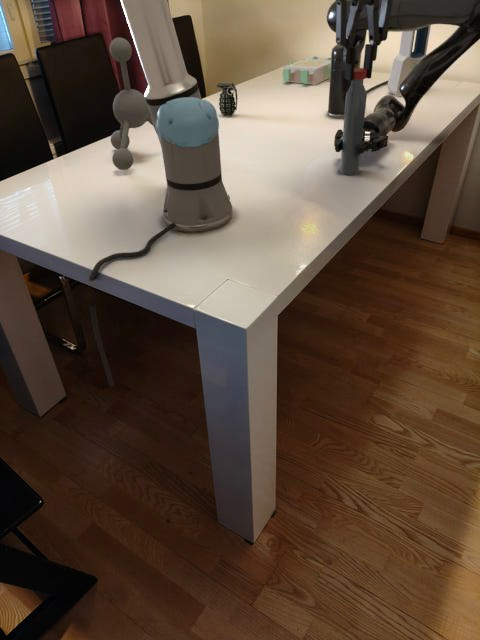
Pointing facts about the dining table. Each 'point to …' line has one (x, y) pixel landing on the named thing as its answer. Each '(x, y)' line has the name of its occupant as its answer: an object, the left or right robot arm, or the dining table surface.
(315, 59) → the decorative block
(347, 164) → the bottle
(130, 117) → the molecular model
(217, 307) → the dining table surface
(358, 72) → the cap
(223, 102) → the grenade
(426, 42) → the electronic device
